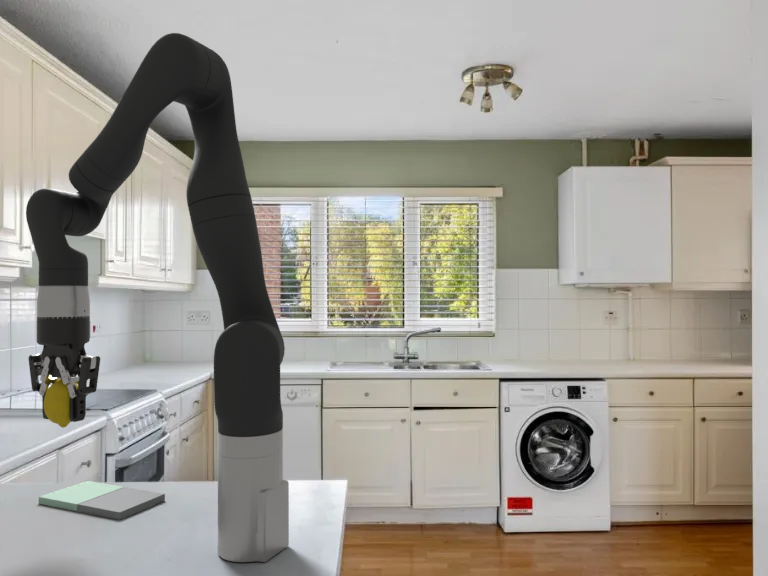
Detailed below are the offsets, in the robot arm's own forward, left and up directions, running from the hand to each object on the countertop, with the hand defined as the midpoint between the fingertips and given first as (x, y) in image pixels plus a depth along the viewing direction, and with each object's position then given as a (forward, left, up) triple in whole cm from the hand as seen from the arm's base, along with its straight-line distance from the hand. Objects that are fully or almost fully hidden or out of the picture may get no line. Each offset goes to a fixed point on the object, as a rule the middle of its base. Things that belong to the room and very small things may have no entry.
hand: (63, 419), depth 93 cm
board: (+4, -11, -17) cm, 21 cm away
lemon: (0, 0, -2) cm, 2 cm away
